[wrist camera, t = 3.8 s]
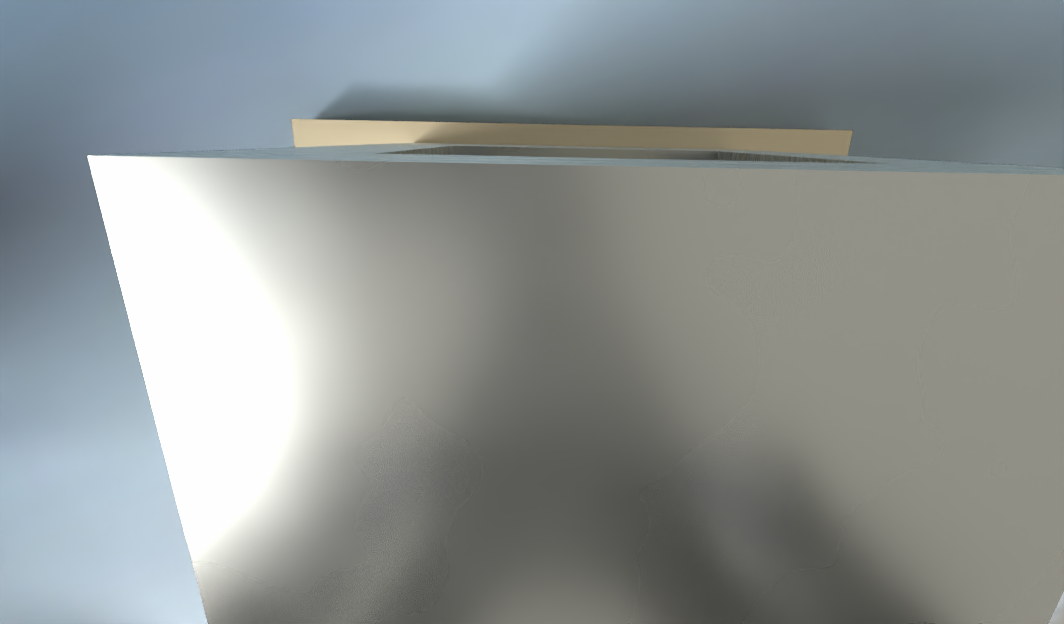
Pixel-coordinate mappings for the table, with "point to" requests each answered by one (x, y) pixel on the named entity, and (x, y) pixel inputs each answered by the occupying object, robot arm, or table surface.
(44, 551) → the table surface
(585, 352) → the grey rectangular block
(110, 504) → the table surface
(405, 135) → the board
